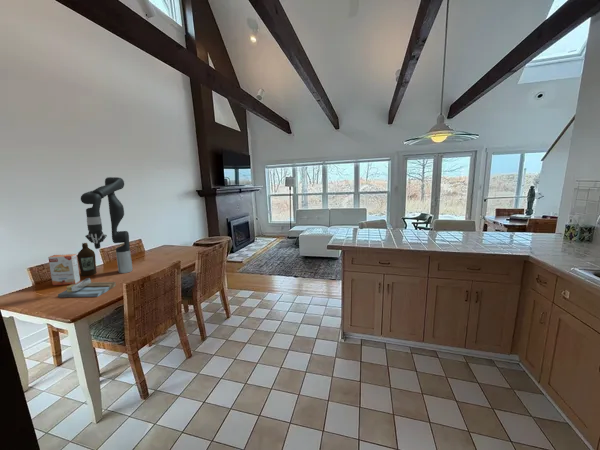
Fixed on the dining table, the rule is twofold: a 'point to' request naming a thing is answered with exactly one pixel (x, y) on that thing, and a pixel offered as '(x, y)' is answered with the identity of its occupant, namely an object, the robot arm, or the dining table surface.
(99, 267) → the dining table surface
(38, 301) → the dining table surface
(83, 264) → the olive oil
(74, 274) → the cracker box
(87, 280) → the lock bar
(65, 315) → the dining table surface
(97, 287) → the latched flap box
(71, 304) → the dining table surface
